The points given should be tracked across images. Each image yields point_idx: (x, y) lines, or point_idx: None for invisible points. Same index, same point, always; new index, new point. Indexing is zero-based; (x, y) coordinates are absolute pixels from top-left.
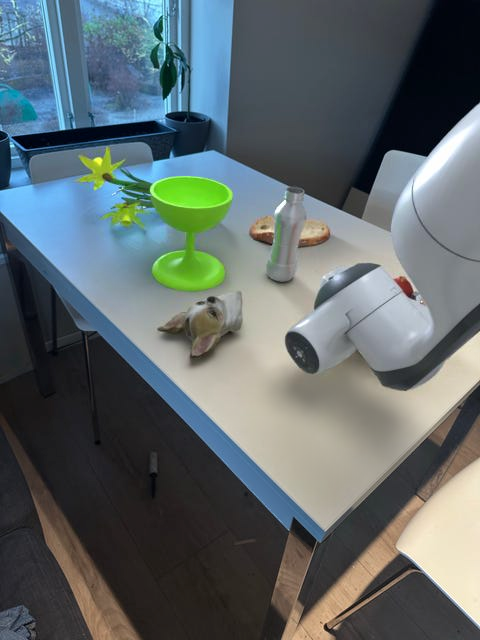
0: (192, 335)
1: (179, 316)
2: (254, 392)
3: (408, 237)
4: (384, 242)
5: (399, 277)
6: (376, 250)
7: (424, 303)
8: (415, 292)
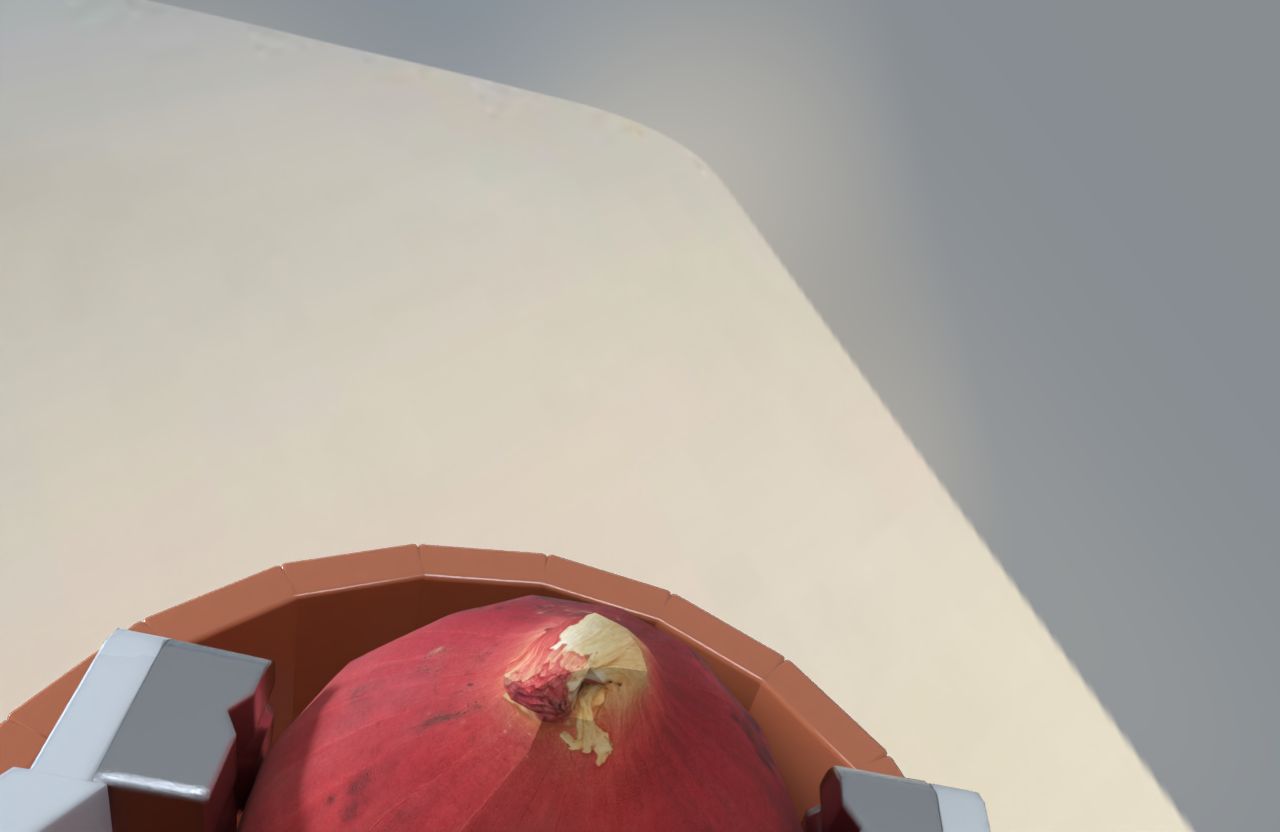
0: None
1: None
2: None
3: None
4: (88, 49)
5: (521, 703)
6: (43, 120)
7: (834, 724)
8: (865, 819)
